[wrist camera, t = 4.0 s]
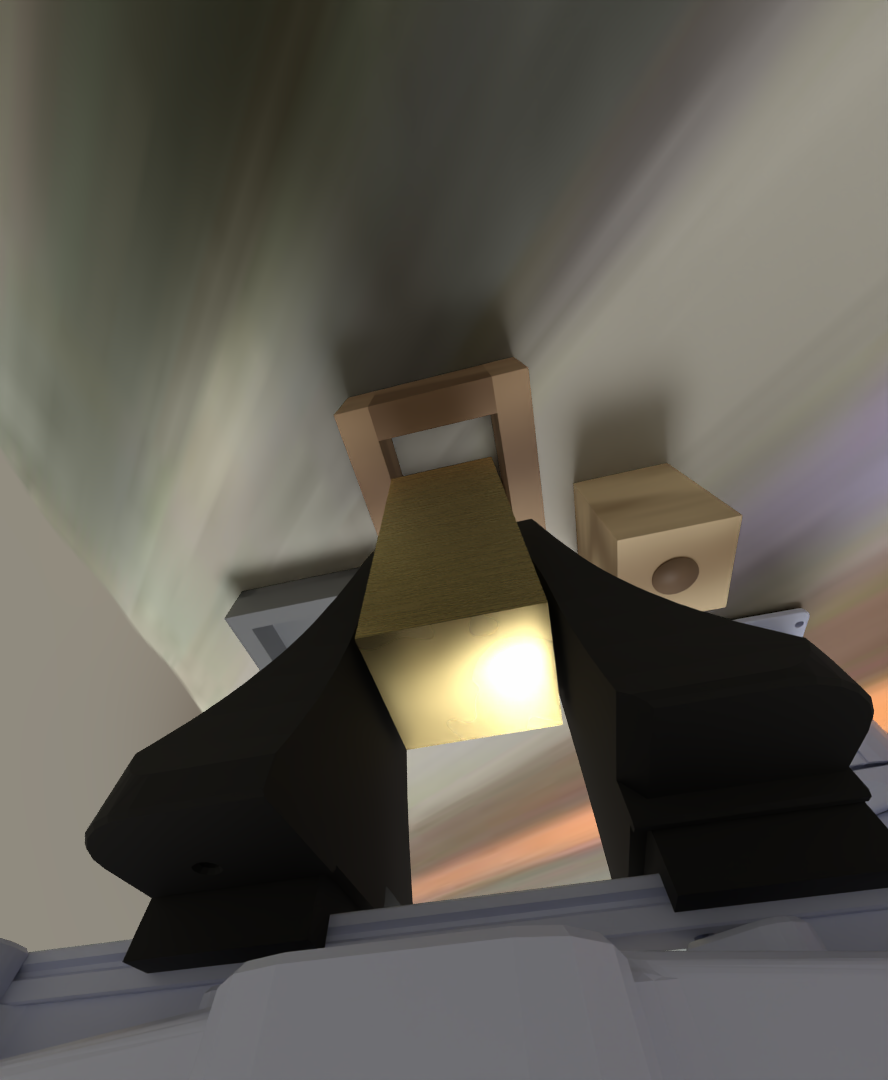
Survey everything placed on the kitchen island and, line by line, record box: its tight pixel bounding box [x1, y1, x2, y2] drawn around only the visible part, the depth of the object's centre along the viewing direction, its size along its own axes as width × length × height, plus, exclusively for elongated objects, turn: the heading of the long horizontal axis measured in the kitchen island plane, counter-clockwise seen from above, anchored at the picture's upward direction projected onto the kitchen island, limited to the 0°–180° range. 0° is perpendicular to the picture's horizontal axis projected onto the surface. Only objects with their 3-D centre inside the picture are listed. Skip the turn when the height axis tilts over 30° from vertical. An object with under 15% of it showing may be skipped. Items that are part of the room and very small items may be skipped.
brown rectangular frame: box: [334, 357, 546, 535], centre depth 17 cm, size 7×7×3 cm
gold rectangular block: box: [355, 457, 563, 750], centre depth 10 cm, size 3×3×7 cm
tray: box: [225, 567, 360, 671], centre depth 24 cm, size 10×10×2 cm
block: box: [573, 463, 742, 611], centre depth 18 cm, size 4×4×6 cm
